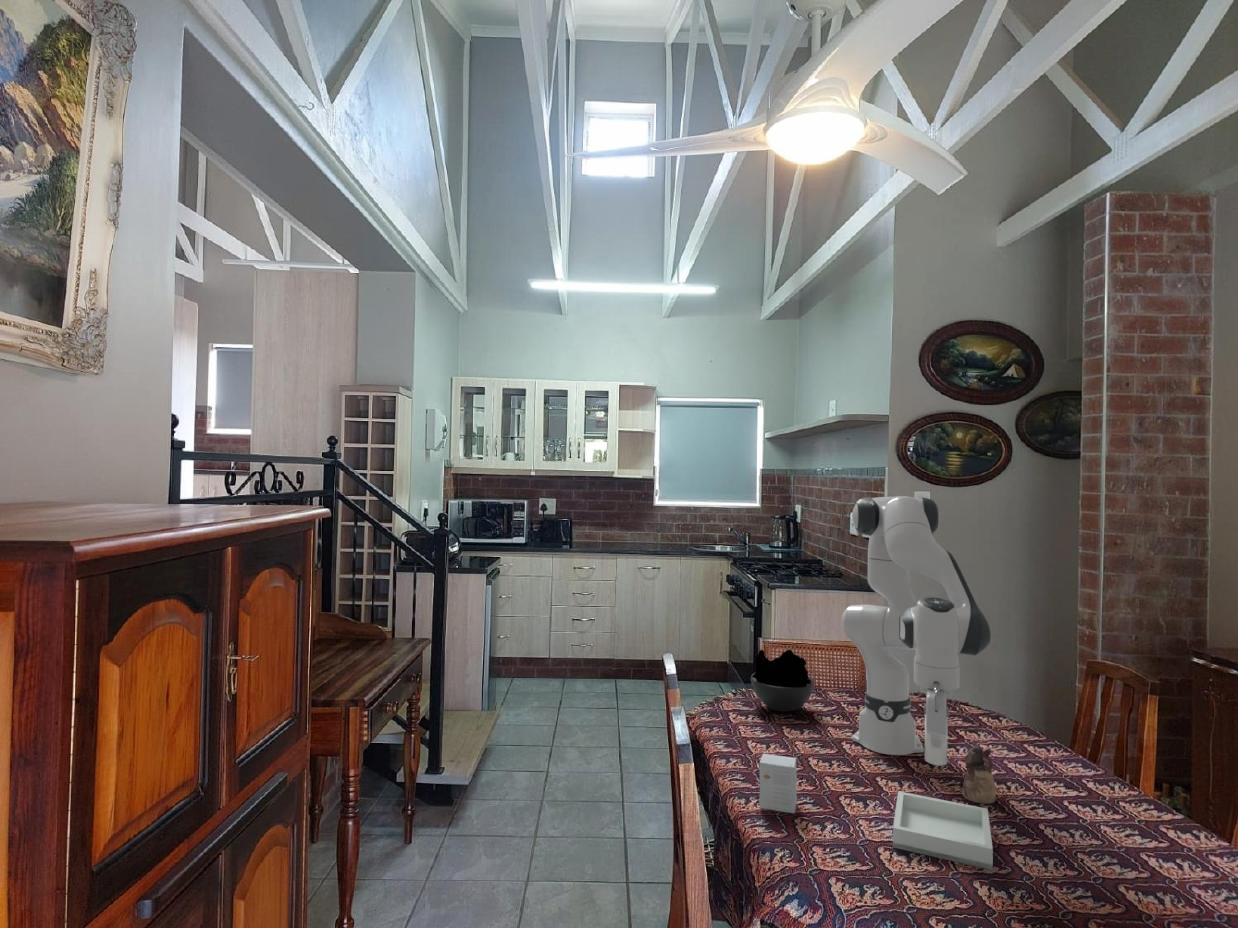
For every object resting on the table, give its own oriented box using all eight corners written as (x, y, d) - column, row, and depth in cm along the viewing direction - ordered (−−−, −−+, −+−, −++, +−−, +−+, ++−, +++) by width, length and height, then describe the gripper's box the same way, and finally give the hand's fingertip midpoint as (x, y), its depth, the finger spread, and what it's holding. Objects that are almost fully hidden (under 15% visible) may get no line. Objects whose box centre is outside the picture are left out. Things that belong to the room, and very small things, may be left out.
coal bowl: (824, 709, 222) (825, 651, 222) (796, 725, 207) (796, 663, 207) (769, 695, 235) (770, 640, 236) (738, 710, 220) (739, 651, 221)
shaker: (923, 754, 148) (924, 700, 148) (948, 758, 146) (948, 704, 146) (923, 762, 144) (923, 707, 144) (948, 767, 142) (948, 711, 142)
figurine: (968, 787, 167) (968, 738, 168) (1000, 797, 162) (1000, 746, 162) (957, 796, 162) (957, 745, 163) (990, 807, 157) (990, 754, 157)
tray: (898, 808, 156) (898, 791, 156) (987, 826, 148) (987, 808, 148) (892, 847, 140) (892, 827, 140) (992, 869, 132) (992, 849, 132)
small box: (797, 803, 158) (797, 757, 158) (795, 814, 153) (795, 767, 153) (762, 797, 161) (762, 752, 161) (758, 808, 156) (759, 761, 156)
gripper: (954, 692, 134) (953, 762, 134) (951, 665, 153) (951, 727, 153) (919, 688, 137) (918, 757, 137) (920, 662, 156) (920, 722, 155)
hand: (935, 741), depth 145 cm, fingers closed on shaker, 4 cm apart
